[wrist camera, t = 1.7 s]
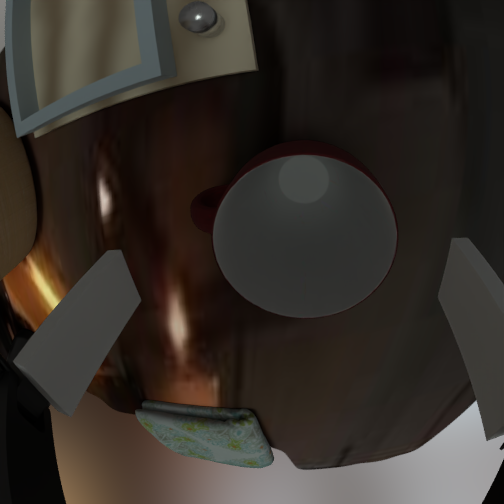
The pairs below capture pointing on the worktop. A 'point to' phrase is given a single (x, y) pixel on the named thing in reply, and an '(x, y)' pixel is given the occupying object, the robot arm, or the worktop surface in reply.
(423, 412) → the worktop surface
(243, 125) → the worktop surface
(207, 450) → the towel
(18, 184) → the planter
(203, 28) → the peg
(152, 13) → the bay
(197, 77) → the board
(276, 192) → the mug
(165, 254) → the worktop surface
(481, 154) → the worktop surface
